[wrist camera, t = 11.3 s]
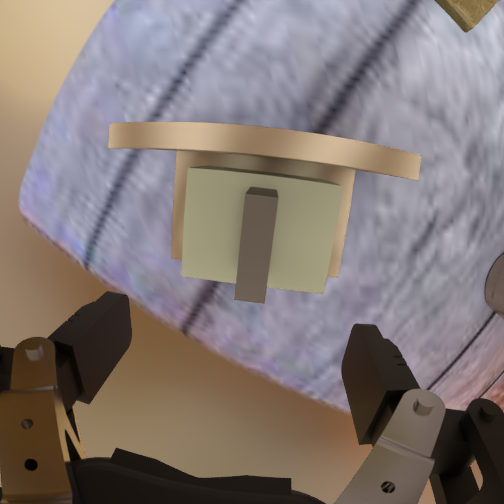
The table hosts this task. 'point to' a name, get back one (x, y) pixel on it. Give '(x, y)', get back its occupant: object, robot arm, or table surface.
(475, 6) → the decorative tile
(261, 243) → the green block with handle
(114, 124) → the wooden stand
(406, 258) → the table surface
